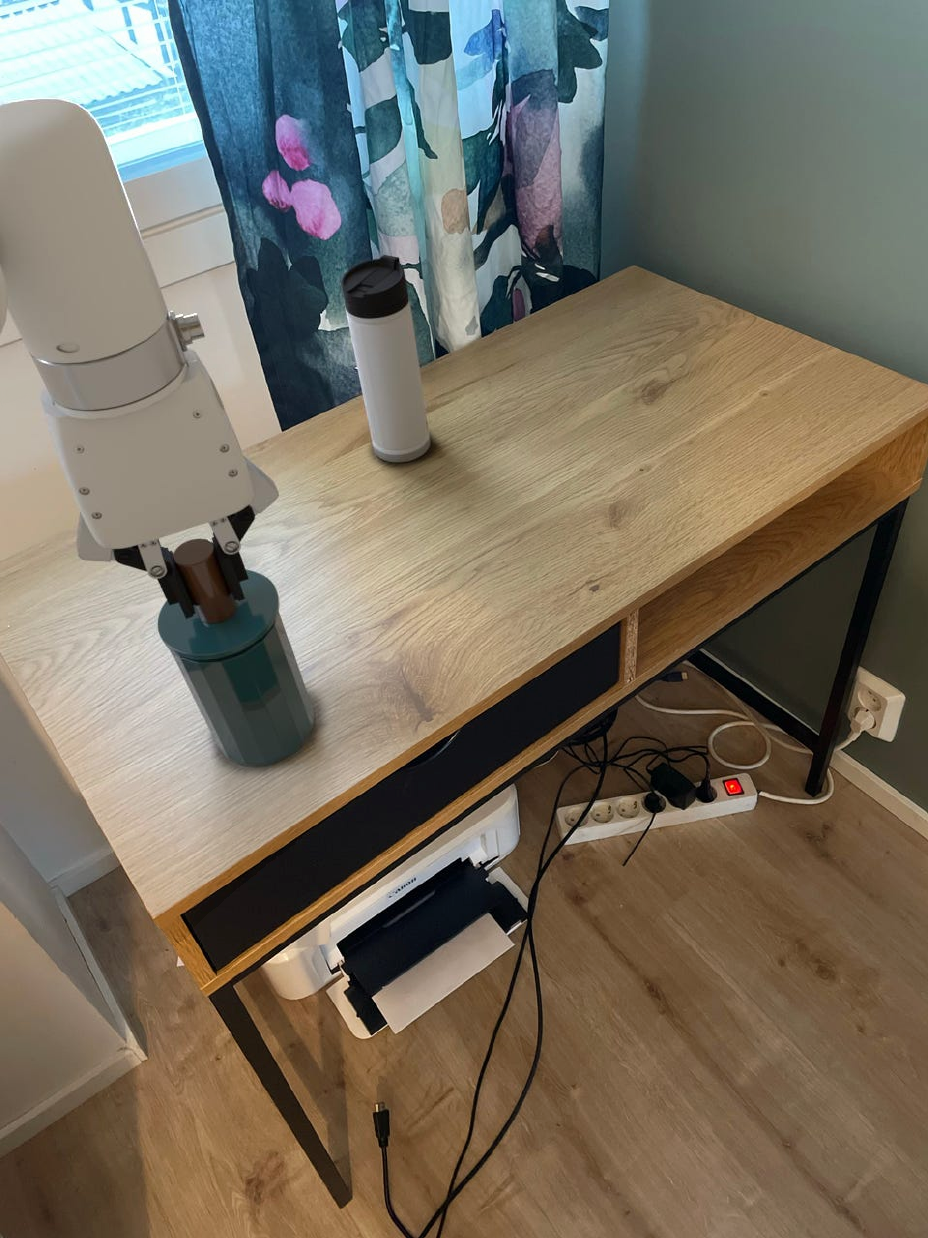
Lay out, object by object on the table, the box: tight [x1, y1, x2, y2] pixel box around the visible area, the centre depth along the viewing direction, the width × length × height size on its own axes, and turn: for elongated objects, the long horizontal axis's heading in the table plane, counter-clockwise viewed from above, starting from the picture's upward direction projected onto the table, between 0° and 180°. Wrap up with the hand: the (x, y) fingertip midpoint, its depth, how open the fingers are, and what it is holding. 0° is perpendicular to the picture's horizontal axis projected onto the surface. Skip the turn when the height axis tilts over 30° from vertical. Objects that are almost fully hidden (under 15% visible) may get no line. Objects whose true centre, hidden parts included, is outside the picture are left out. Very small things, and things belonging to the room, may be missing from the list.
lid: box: [157, 537, 281, 659], centre depth 62 cm, size 9×9×7 cm
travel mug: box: [340, 254, 431, 463], centre depth 92 cm, size 6×7×20 cm
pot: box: [169, 611, 315, 768], centre depth 69 cm, size 8×8×12 cm
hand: (211, 594), depth 62 cm, fingers closed on lid, 2 cm apart
